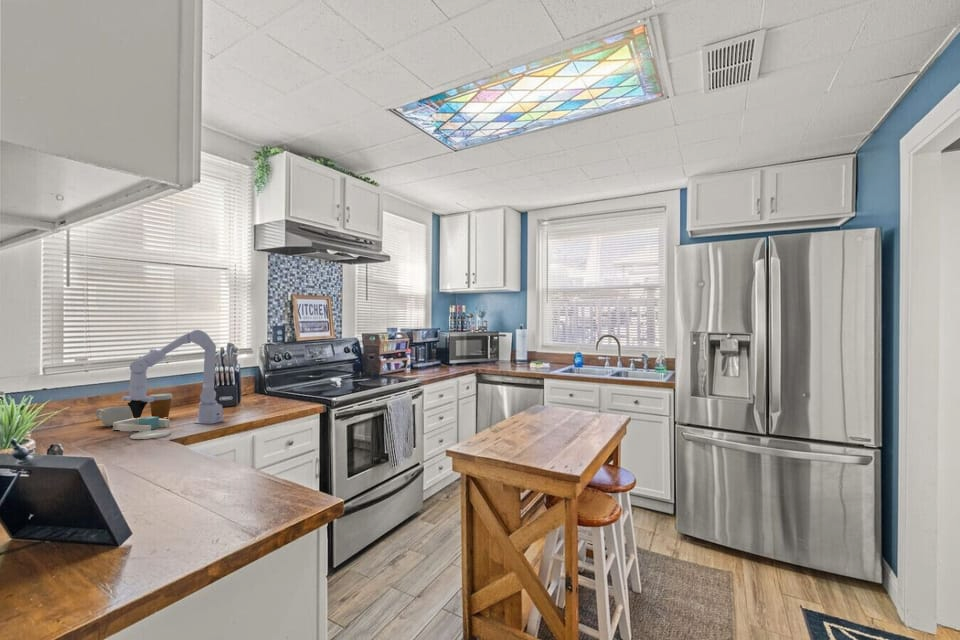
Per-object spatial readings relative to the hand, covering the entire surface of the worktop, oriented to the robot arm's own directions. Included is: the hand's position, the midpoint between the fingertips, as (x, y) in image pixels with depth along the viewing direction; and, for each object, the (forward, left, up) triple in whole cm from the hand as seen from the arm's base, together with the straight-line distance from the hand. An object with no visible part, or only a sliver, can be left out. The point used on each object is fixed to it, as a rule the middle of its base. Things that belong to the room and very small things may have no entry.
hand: (137, 417), depth 187 cm
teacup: (+16, -3, -5) cm, 17 cm away
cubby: (-3, 0, -5) cm, 5 cm away
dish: (-19, +11, -5) cm, 22 cm away
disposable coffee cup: (+8, -19, -5) cm, 21 cm away
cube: (-6, 0, -5) cm, 8 cm away
